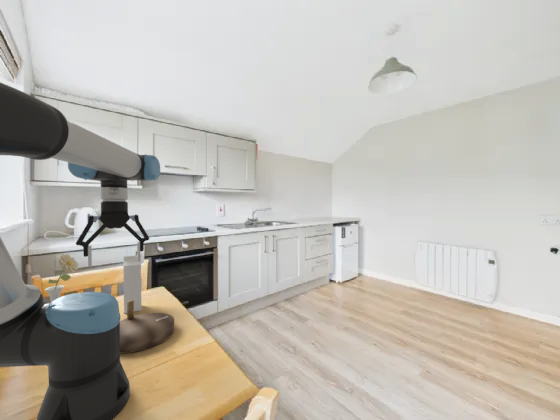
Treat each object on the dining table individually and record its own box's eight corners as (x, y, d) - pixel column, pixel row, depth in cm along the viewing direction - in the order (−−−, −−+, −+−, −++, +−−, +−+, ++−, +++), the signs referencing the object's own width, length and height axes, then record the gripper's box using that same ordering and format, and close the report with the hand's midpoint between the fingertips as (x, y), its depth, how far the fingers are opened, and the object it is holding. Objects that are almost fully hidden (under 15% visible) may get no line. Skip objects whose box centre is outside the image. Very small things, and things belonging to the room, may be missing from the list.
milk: (124, 308, 100) (123, 255, 100) (141, 305, 104) (140, 253, 103) (124, 313, 95) (123, 258, 95) (141, 310, 98) (140, 256, 98)
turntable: (116, 362, 66) (116, 330, 65) (95, 336, 78) (94, 309, 78) (185, 332, 81) (185, 306, 81) (158, 314, 94) (158, 292, 94)
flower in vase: (50, 336, 79) (48, 260, 78) (23, 333, 81) (21, 258, 80) (89, 318, 91) (88, 252, 91) (64, 315, 94) (63, 251, 93)
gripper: (63, 200, 72) (64, 271, 72) (157, 200, 86) (157, 260, 86) (67, 200, 78) (68, 266, 78) (154, 201, 92) (155, 256, 92)
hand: (115, 263), depth 82 cm, fingers open, 13 cm apart
